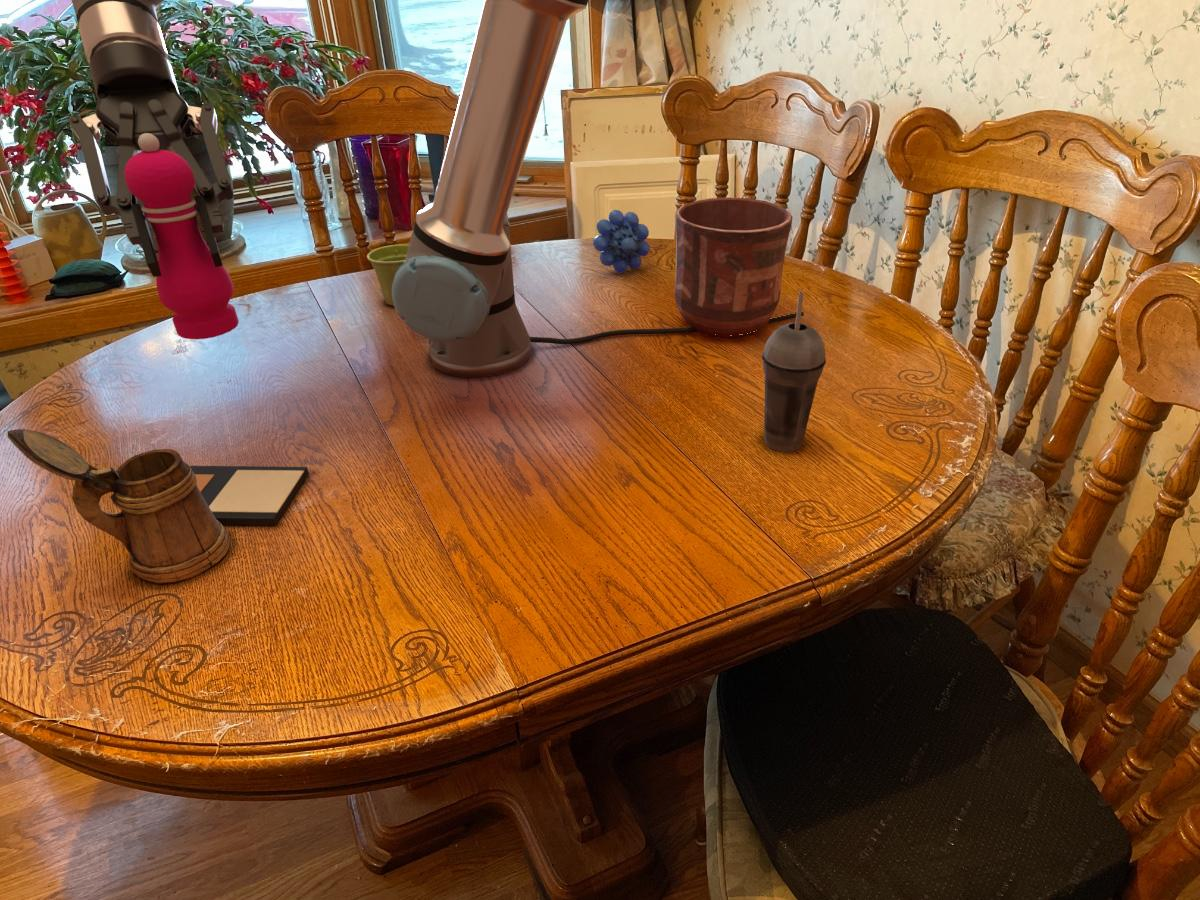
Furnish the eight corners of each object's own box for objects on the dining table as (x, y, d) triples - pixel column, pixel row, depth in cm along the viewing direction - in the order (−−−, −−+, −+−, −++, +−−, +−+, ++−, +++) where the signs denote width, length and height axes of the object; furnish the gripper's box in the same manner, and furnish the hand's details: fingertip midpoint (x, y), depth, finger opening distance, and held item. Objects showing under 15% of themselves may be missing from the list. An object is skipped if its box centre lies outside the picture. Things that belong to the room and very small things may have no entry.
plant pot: (364, 306, 136) (355, 258, 131) (396, 288, 143) (388, 241, 138) (410, 313, 133) (402, 264, 128) (439, 294, 140) (433, 247, 135)
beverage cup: (816, 431, 98) (839, 280, 87) (809, 462, 92) (833, 304, 81) (758, 422, 100) (774, 273, 89) (748, 452, 94) (764, 296, 84)
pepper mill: (217, 344, 81) (152, 142, 70) (157, 339, 82) (84, 140, 72) (257, 316, 87) (203, 126, 76) (200, 312, 88) (139, 125, 77)
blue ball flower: (604, 285, 142) (603, 219, 136) (588, 273, 147) (587, 210, 141) (660, 274, 146) (661, 210, 140) (642, 263, 151) (643, 201, 145)
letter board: (309, 473, 93) (307, 465, 92) (275, 526, 84) (273, 517, 84) (186, 472, 93) (184, 464, 93) (141, 524, 85) (138, 515, 84)
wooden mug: (82, 561, 80) (6, 410, 70) (222, 517, 86) (169, 371, 76) (86, 614, 73) (3, 455, 64) (237, 562, 79) (182, 409, 69)
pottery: (796, 315, 129) (810, 205, 119) (754, 356, 116) (766, 237, 107) (700, 295, 137) (705, 191, 127) (651, 331, 125) (653, 219, 115)
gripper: (228, 81, 88) (283, 267, 84) (43, 97, 81) (94, 298, 77) (217, 32, 81) (277, 231, 77) (14, 44, 74) (70, 262, 71)
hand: (186, 264), depth 77 cm, fingers closed on pepper mill, 5 cm apart
